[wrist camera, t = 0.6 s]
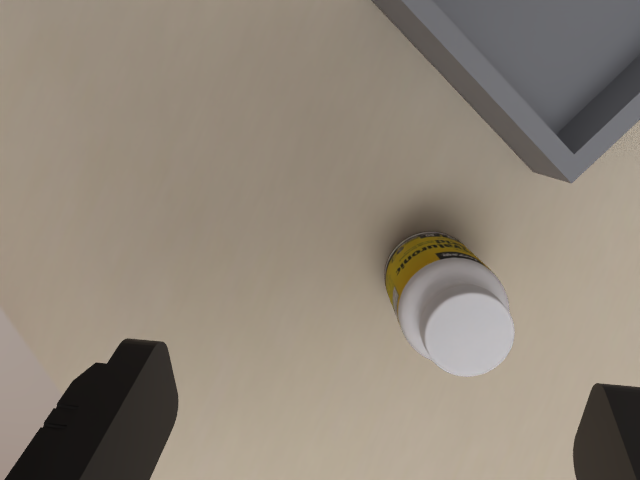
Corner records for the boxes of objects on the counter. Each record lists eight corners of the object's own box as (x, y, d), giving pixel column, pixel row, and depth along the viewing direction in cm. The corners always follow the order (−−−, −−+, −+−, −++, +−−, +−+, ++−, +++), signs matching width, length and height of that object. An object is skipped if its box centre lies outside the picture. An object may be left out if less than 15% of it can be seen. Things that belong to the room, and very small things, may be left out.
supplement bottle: (463, 219, 34) (523, 264, 24) (478, 304, 35) (541, 378, 25) (373, 241, 34) (398, 293, 24) (392, 323, 35) (422, 405, 25)
